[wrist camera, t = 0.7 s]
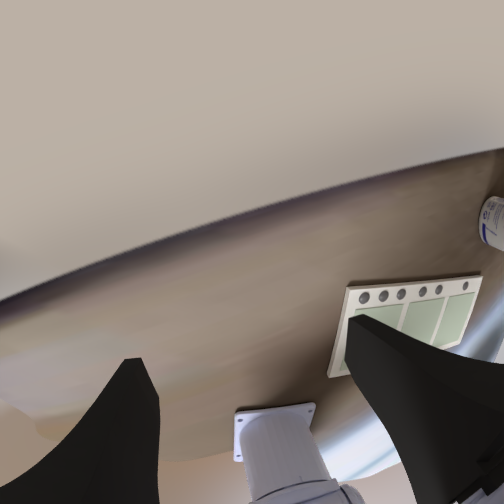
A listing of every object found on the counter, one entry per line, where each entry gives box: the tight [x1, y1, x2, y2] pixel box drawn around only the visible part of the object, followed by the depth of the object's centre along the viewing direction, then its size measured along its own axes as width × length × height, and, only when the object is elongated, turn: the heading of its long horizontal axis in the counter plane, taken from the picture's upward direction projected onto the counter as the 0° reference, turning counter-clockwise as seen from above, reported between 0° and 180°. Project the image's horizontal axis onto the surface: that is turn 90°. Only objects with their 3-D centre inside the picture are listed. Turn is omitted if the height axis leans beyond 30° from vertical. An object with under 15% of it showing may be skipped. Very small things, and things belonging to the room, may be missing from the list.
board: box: [327, 275, 483, 378], centre depth 25 cm, size 9×19×1 cm, turn 87°
